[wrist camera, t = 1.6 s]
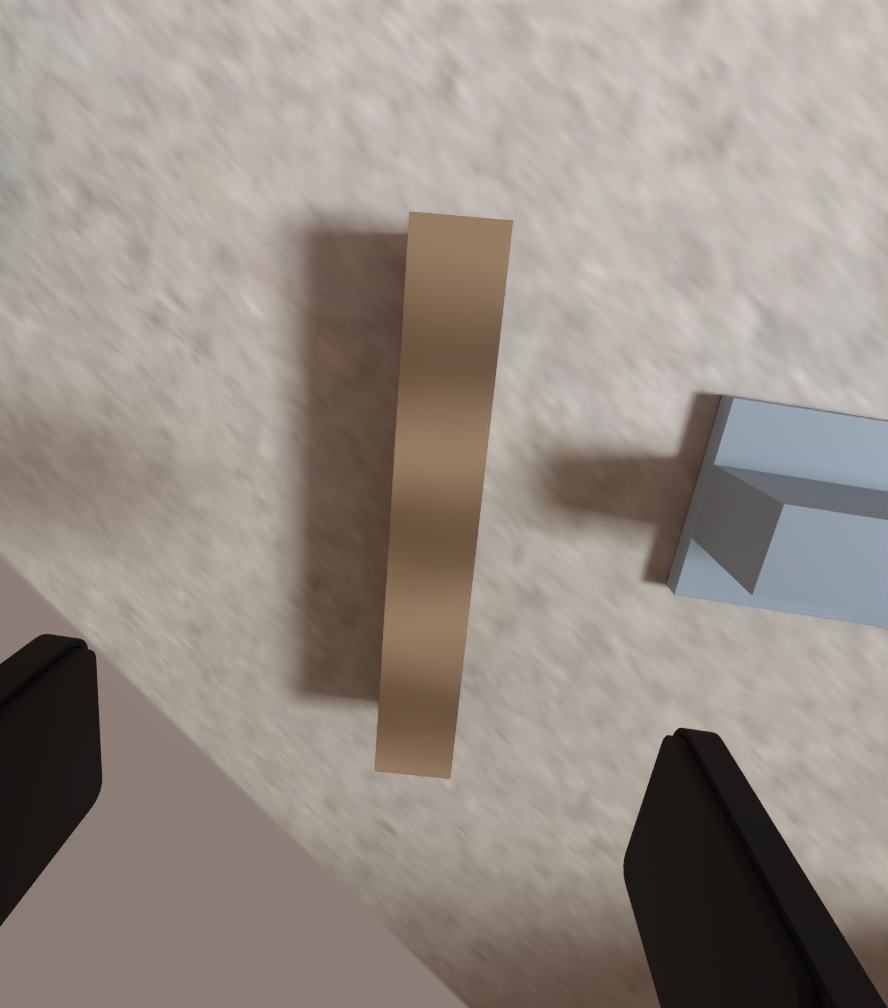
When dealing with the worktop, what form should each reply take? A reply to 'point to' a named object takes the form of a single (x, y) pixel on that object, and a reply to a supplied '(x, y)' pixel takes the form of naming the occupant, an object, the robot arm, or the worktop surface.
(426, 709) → the walnut bar
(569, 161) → the worktop surface
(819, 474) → the fulcrum
